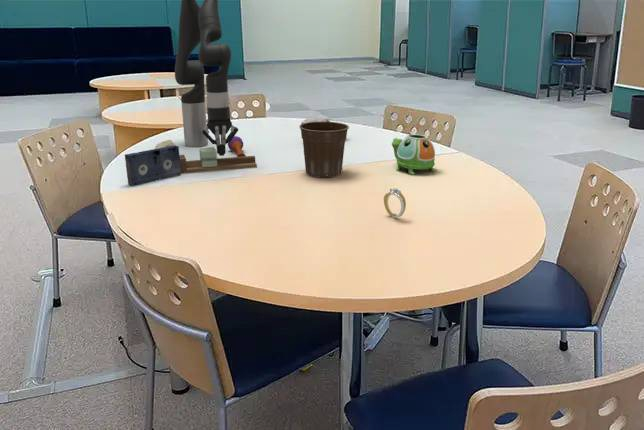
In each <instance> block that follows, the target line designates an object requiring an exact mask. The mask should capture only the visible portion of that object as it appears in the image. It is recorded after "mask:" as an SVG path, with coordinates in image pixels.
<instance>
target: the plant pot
mask: <svg viewBox="0 0 644 430" xmlns="http://www.w3.org/2000/svg"><path fill="white" fill-rule="evenodd" d="M349 128H350V127H349V124H347V123H342V122H336V121H330V122H308V123H304V124H300V125H299V129H300V133H301V139H302V146H303V155H304V167H305V168H304V169H305V173H306V175H308V176H310V177H313V178H326V177H329V178H333V177H335V178H336V177H338V176H340V175H341V174H342V172H343V171H342V170H343V163H344V155H345V154H344V153H345V145H346V140H347V136H348V130H349Z"/></svg>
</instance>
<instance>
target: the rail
mask: <svg viewBox="0 0 644 430" xmlns="http://www.w3.org/2000/svg"><path fill="white" fill-rule="evenodd" d="M179 155H180V156H179V157H180V166H181V168H180V169H181V175H182V174H183V175H185V174H193V173H206V172H215V171H217V172H218V171H228V170H229V171H231V170H241V169H251V168H252V169H253V168H258V163H256V156H255V155H246V156H243V157H237V156H234V157H220V158H217V166H214V167H202V161H201V160H200V159H196V160H195V159H194V160H187V159H186V156H185V154H179Z"/></svg>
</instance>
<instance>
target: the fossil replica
mask: <svg viewBox="0 0 644 430" xmlns="http://www.w3.org/2000/svg"><path fill="white" fill-rule="evenodd" d="M174 145H175V146H177V145H176V144H175V143H174V142H173V141H172V140H171V139H168V140H167V139H166V140H164V141H162V142H159V143H157V144H156V145H155V147H154V149H159V148H164V147H169V146H174Z"/></svg>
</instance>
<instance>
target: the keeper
mask: <svg viewBox="0 0 644 430" xmlns="http://www.w3.org/2000/svg"><path fill="white" fill-rule="evenodd" d="M198 150H199V160H201V161H202V167H214V166H217V159H218V158H217V155H218V154H217V148H215V147H214V146H207V147H204V146H203V147H198Z"/></svg>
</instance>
